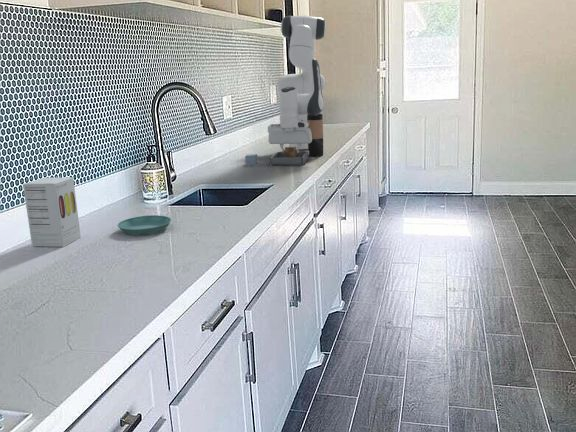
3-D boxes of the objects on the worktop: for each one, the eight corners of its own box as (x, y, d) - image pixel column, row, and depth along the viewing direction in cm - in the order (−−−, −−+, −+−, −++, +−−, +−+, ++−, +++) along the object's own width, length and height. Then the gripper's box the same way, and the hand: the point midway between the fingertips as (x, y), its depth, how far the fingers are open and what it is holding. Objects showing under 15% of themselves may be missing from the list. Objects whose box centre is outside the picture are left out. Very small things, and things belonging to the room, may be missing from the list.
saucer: (112, 230, 167) (110, 221, 167) (161, 221, 175) (160, 212, 174) (127, 241, 155) (126, 231, 155) (179, 231, 163) (179, 222, 162)
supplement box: (63, 247, 152) (54, 183, 147) (31, 247, 153) (21, 183, 149) (82, 237, 161) (74, 176, 157) (51, 236, 162) (42, 176, 158)
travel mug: (324, 154, 291) (323, 113, 286) (323, 156, 283) (322, 114, 279) (308, 154, 292) (307, 114, 287) (307, 157, 284) (306, 115, 279)
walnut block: (285, 157, 272) (284, 147, 271) (286, 156, 276) (286, 146, 275) (294, 157, 271) (294, 147, 270) (296, 155, 276) (295, 146, 275)
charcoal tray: (277, 159, 281) (277, 151, 280) (308, 158, 279) (308, 151, 278) (270, 165, 263) (269, 158, 262) (303, 165, 261) (302, 157, 260)
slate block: (248, 164, 272) (247, 154, 271) (257, 163, 271) (256, 154, 270) (245, 165, 267) (245, 155, 266) (255, 165, 267) (254, 155, 265)
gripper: (266, 124, 269) (267, 154, 272) (310, 123, 265) (311, 153, 269) (268, 123, 275) (270, 152, 278) (312, 122, 271) (312, 151, 275)
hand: (290, 153), depth 274 cm, fingers closed on walnut block, 4 cm apart
